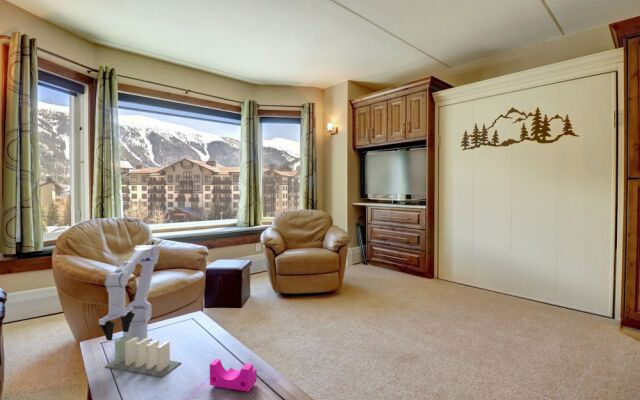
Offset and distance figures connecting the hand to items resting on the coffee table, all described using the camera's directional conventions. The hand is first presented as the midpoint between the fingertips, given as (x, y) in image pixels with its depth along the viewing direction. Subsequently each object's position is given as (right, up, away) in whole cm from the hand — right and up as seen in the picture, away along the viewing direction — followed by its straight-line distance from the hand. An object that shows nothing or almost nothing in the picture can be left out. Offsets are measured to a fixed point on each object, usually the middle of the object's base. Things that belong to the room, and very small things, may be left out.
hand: (117, 335), depth 128 cm
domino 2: (+12, -10, -3) cm, 16 cm away
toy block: (+51, -11, -15) cm, 54 cm away
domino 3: (+16, -10, -4) cm, 20 cm away
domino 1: (+7, -10, -2) cm, 12 cm away
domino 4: (+21, -10, -6) cm, 24 cm away
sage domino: (+2, -10, 0) cm, 10 cm away
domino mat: (+12, -10, -3) cm, 16 cm away
